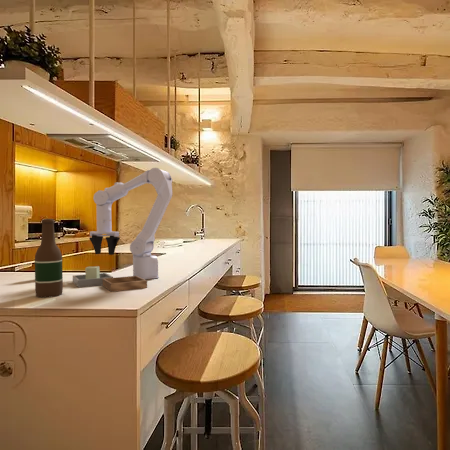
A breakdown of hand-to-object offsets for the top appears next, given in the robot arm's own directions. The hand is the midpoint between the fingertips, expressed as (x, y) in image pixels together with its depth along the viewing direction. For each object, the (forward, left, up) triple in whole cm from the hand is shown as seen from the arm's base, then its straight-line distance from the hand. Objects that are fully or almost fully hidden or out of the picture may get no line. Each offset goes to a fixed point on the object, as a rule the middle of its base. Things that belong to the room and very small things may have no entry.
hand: (104, 254), depth 150 cm
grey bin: (+7, +11, -9) cm, 16 cm away
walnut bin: (-1, +25, -9) cm, 27 cm away
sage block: (+7, +11, -10) cm, 16 cm away
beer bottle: (+23, +26, -10) cm, 36 cm away
